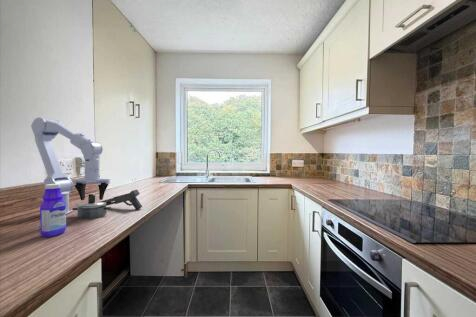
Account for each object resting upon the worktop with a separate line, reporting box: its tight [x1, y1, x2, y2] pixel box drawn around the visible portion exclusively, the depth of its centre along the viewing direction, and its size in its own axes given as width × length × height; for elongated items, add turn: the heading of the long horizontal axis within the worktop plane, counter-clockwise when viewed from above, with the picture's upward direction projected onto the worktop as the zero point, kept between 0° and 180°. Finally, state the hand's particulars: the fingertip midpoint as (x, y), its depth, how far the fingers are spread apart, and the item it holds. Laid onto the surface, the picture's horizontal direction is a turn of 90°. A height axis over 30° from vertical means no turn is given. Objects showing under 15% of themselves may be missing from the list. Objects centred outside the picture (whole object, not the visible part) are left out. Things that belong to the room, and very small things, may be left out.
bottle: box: [39, 184, 67, 238], centre depth 84 cm, size 7×6×17 cm
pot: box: [71, 205, 112, 220], centre depth 109 cm, size 15×11×4 cm
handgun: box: [99, 189, 143, 211], centre depth 124 cm, size 4×24×10 cm, turn 80°
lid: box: [75, 193, 106, 209], centre depth 108 cm, size 12×12×6 cm
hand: (92, 199), depth 109 cm, fingers open, 7 cm apart
